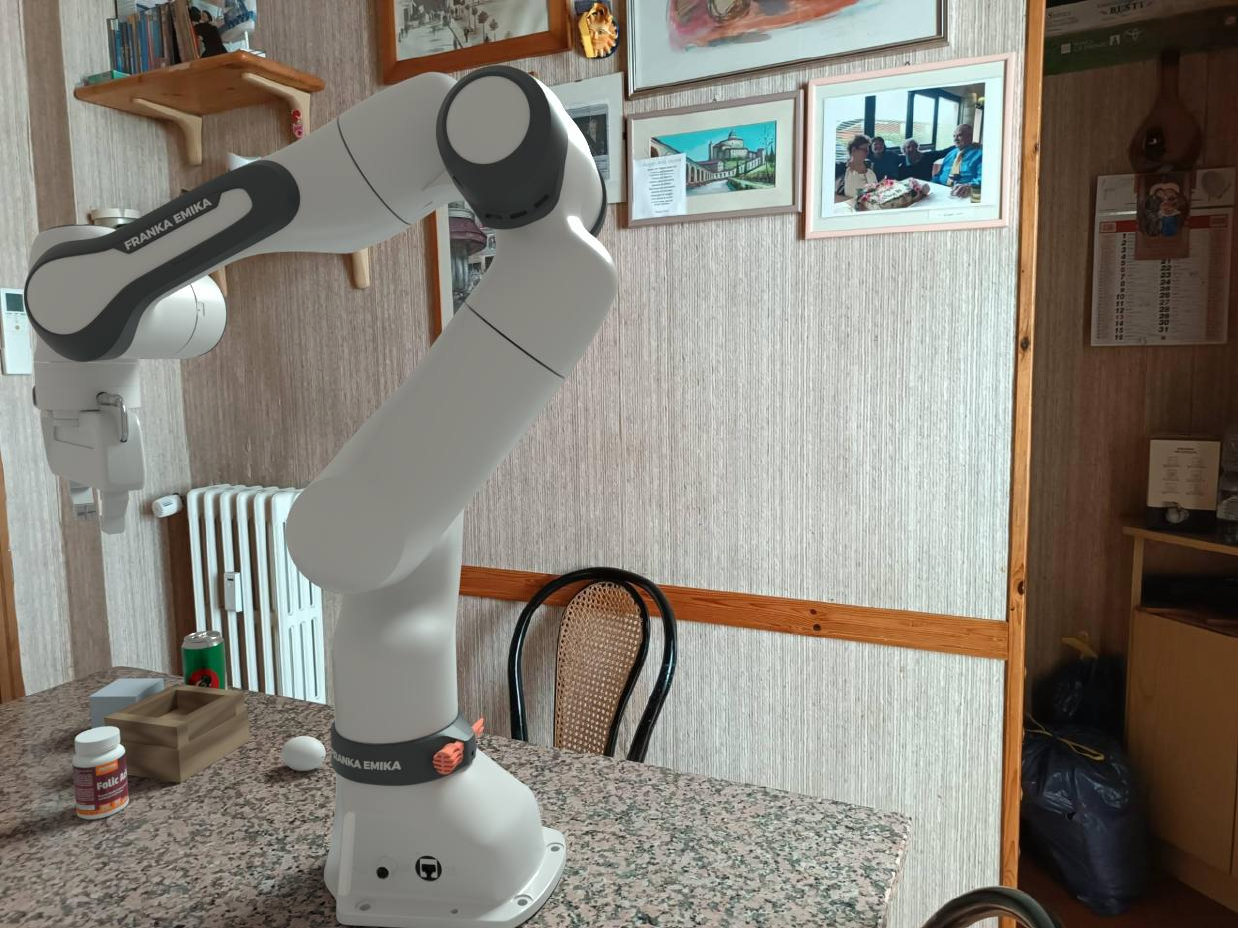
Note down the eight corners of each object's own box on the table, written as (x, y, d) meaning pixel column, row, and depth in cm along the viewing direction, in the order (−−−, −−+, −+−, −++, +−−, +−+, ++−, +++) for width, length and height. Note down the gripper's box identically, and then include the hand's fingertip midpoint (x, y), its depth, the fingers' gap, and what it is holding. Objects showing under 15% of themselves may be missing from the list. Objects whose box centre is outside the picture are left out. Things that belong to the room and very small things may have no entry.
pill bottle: (104, 822, 83) (97, 745, 82) (65, 818, 84) (58, 742, 83) (140, 798, 87) (134, 725, 86) (103, 794, 88) (96, 722, 87)
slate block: (166, 721, 108) (163, 678, 107) (139, 741, 102) (135, 696, 101) (122, 721, 108) (118, 678, 107) (92, 741, 102) (88, 696, 101)
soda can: (237, 719, 108) (231, 633, 106) (201, 733, 103) (194, 644, 102) (215, 711, 110) (209, 627, 109) (179, 725, 106) (172, 637, 105)
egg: (314, 780, 91) (312, 748, 91) (271, 772, 93) (269, 741, 93) (336, 764, 95) (334, 733, 94) (294, 757, 97) (293, 727, 96)
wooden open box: (250, 740, 101) (246, 690, 101) (181, 782, 91) (176, 728, 90) (179, 730, 104) (176, 682, 104) (105, 770, 94) (100, 717, 93)
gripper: (160, 393, 76) (168, 536, 78) (95, 389, 90) (103, 510, 91) (83, 394, 71) (93, 546, 73) (27, 390, 85) (37, 517, 87)
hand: (98, 526), depth 82 cm, fingers open, 8 cm apart
